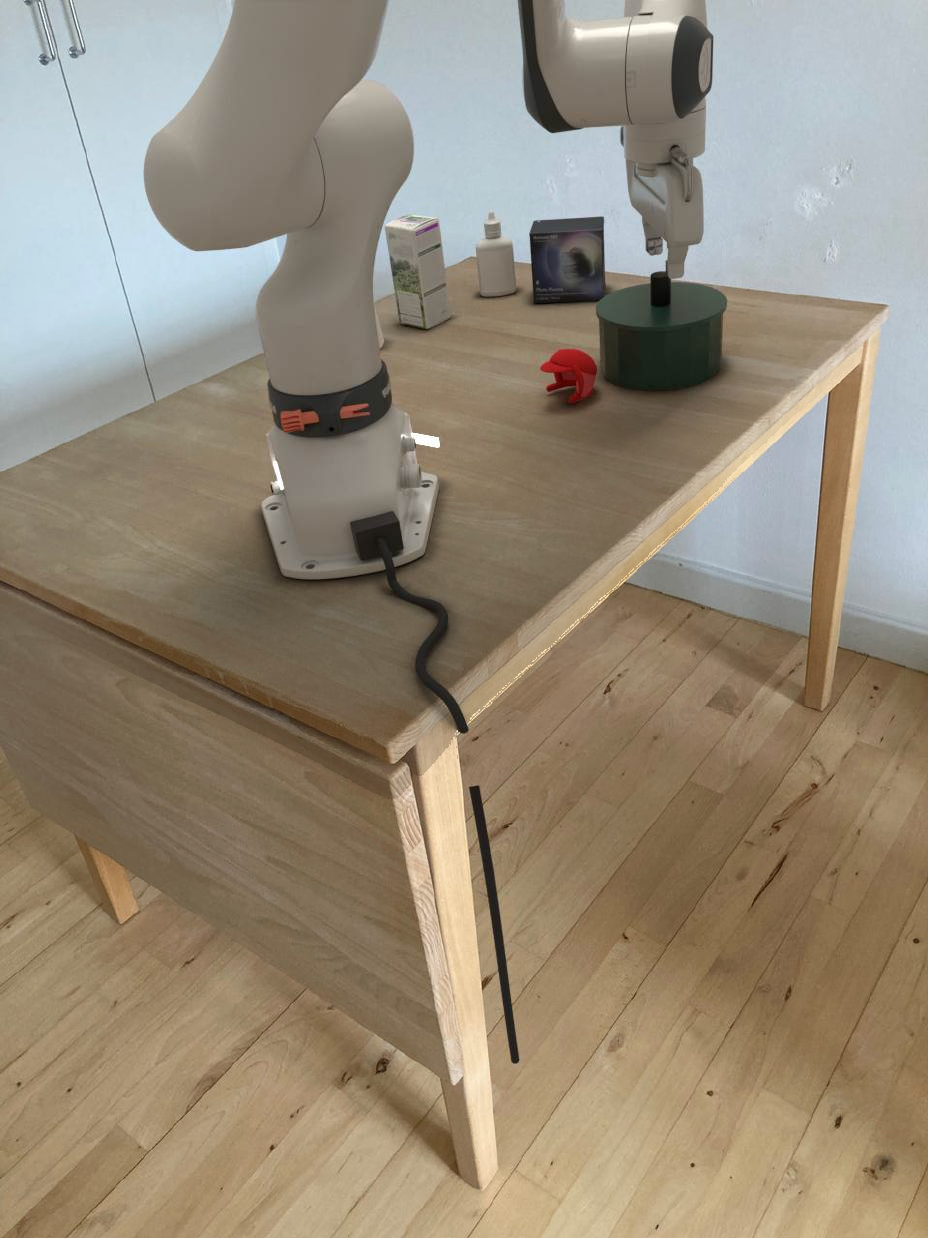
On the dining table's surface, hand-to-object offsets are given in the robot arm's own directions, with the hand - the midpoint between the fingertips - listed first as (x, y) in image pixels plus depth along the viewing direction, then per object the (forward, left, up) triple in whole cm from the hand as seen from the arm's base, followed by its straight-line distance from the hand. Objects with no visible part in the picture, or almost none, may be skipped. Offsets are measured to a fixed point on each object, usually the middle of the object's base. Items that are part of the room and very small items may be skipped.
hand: (664, 264), depth 122 cm
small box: (+31, +6, -13) cm, 35 cm away
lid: (0, 0, -5) cm, 5 cm away
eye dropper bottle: (+37, +16, -13) cm, 43 cm away
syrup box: (+30, +28, -13) cm, 43 cm away
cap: (-4, +13, -13) cm, 19 cm away
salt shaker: (+22, +37, -13) cm, 45 cm away
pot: (+1, 0, -13) cm, 13 cm away
